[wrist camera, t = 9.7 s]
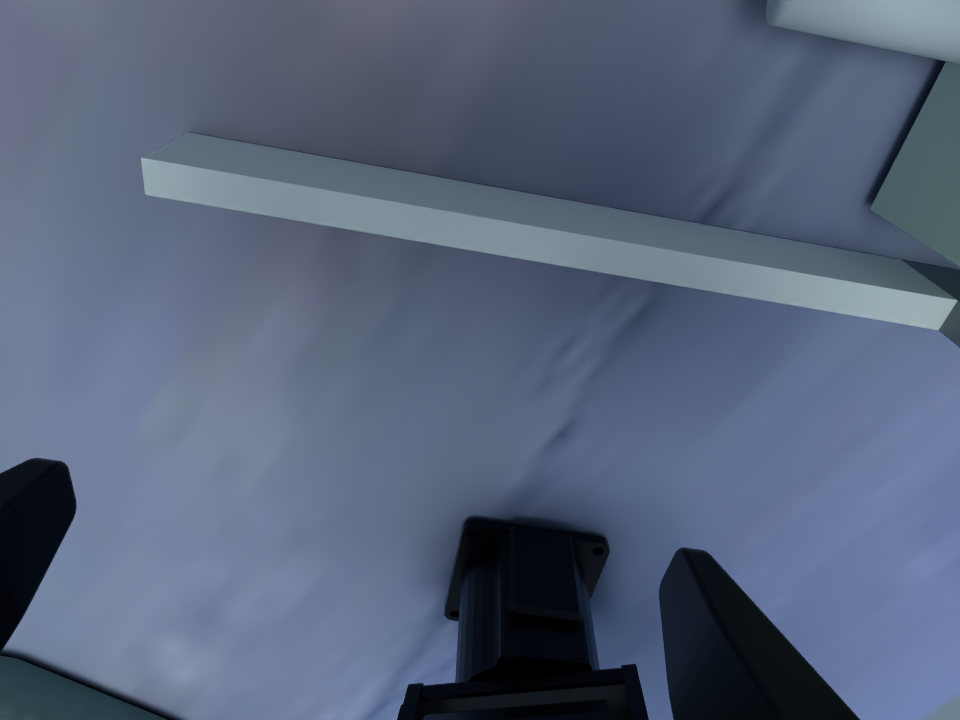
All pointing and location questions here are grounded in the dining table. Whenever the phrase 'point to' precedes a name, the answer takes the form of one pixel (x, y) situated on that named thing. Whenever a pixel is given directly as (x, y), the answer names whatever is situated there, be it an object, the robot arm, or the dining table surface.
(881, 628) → the dining table surface
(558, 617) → the robot arm
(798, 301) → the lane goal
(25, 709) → the tea set
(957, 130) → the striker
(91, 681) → the dining table surface
